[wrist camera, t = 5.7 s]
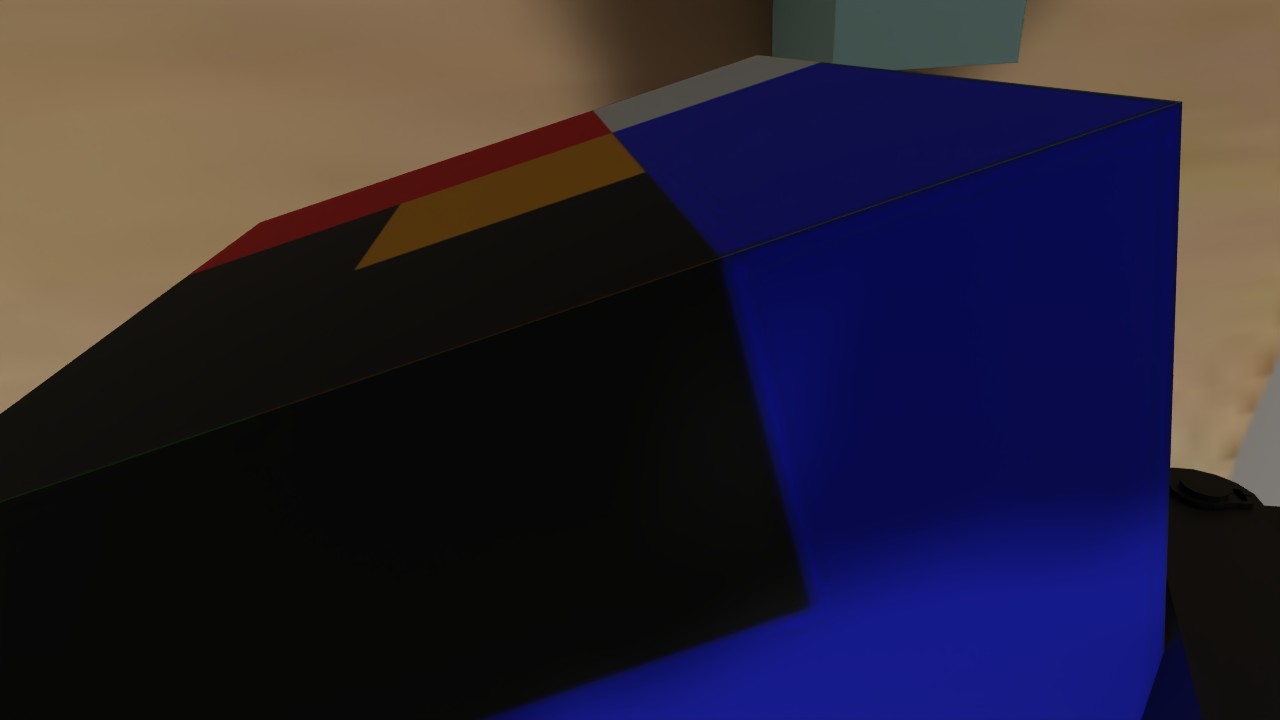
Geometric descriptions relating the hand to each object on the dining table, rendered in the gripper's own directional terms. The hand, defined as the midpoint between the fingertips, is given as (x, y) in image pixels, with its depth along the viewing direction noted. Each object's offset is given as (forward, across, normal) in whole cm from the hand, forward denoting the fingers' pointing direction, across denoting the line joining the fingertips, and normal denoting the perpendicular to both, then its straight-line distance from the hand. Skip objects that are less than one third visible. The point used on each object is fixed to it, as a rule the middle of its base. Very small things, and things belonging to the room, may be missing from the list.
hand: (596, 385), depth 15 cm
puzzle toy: (+1, 0, 0) cm, 1 cm away
